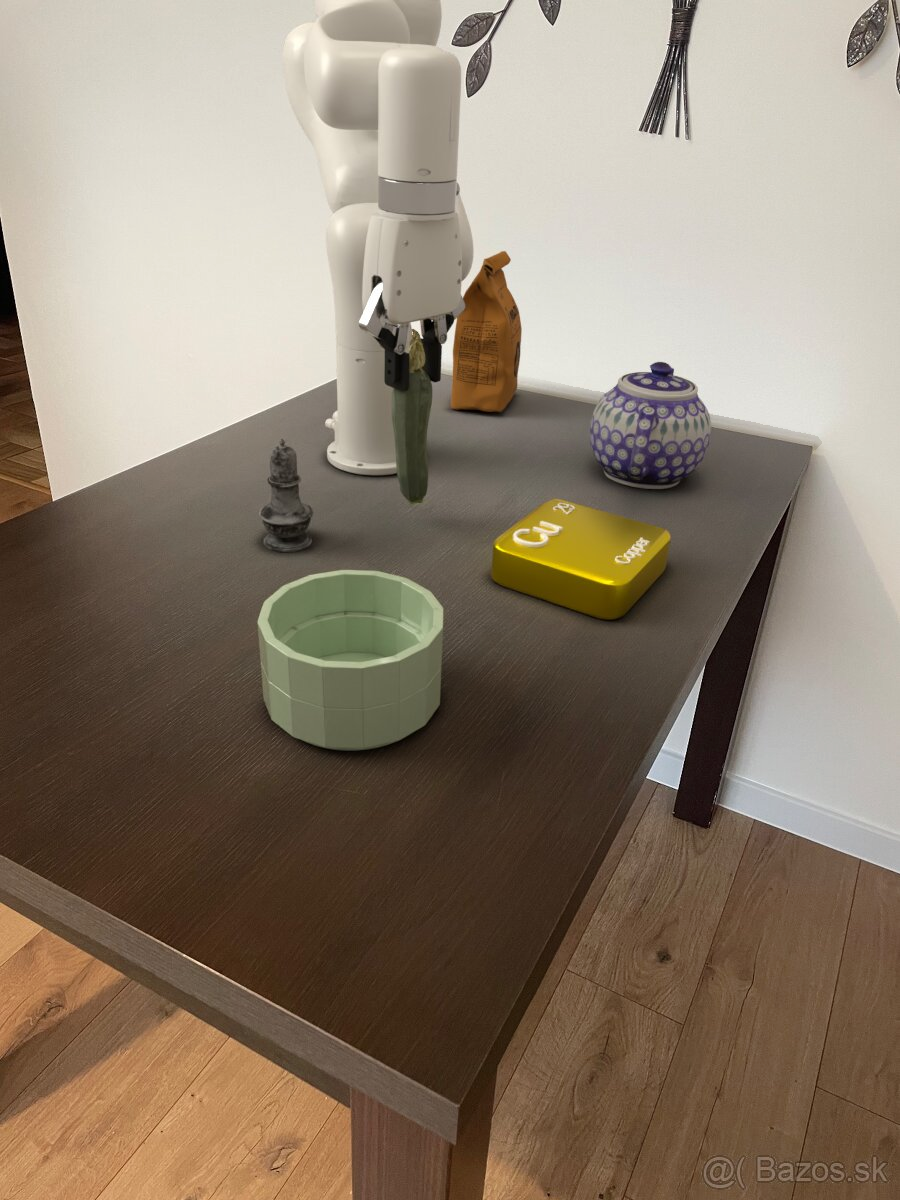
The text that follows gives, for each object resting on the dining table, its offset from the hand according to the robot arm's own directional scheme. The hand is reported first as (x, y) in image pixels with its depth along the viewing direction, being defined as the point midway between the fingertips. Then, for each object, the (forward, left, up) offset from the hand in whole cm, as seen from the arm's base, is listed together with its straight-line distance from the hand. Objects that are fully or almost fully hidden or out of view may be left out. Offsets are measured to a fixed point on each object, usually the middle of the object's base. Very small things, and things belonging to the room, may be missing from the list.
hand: (412, 381), depth 98 cm
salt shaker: (-6, -13, -17) cm, 22 cm away
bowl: (+21, -26, -17) cm, 38 cm away
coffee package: (-24, +38, -17) cm, 48 cm away
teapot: (+9, +34, -17) cm, 39 cm away
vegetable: (0, 0, -15) cm, 15 cm away
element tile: (+20, +6, -17) cm, 27 cm away
